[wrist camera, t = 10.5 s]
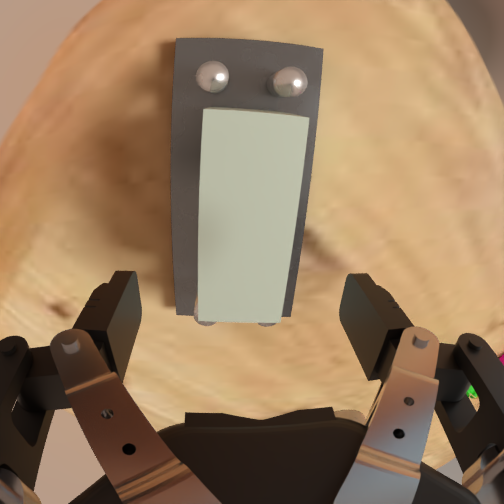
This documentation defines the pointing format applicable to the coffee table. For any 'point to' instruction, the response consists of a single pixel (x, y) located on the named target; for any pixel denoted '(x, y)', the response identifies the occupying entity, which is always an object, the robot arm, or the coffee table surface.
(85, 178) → the coffee table surface
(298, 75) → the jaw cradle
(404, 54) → the coffee table surface
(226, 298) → the block
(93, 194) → the coffee table surface
